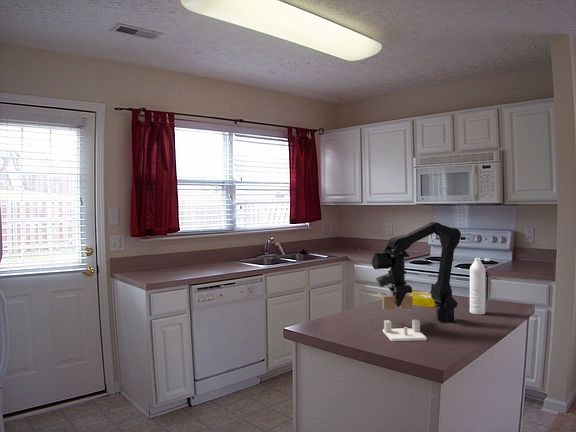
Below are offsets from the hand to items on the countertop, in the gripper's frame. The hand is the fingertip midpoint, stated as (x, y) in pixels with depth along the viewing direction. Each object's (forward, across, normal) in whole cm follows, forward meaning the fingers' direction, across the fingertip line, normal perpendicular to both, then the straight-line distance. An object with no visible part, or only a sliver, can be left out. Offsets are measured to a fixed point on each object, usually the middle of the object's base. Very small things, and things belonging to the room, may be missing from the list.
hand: (397, 305), depth 178 cm
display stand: (+8, +14, -2) cm, 16 cm away
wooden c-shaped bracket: (+1, -4, 0) cm, 4 cm away
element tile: (+9, -38, +24) cm, 46 cm away
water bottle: (+8, -15, +42) cm, 46 cm away
